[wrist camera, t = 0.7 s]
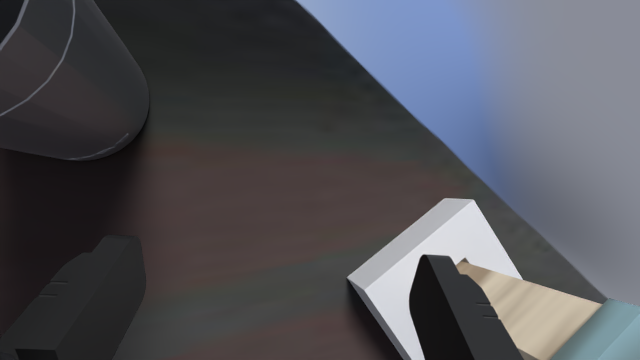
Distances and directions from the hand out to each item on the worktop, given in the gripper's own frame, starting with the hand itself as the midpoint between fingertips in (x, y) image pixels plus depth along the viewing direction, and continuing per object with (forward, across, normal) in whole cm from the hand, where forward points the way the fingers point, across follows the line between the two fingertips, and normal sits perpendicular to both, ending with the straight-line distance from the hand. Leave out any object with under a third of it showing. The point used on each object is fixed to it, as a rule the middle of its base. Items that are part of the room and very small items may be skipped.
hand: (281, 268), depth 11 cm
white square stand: (+16, -14, +16) cm, 26 cm away
